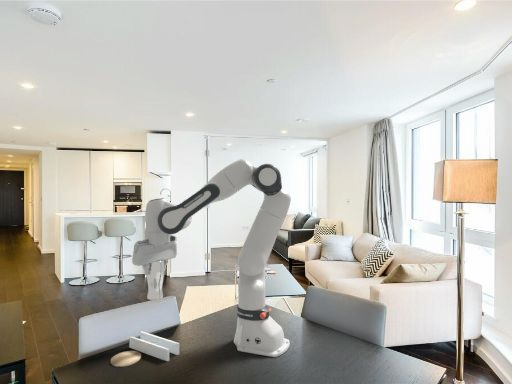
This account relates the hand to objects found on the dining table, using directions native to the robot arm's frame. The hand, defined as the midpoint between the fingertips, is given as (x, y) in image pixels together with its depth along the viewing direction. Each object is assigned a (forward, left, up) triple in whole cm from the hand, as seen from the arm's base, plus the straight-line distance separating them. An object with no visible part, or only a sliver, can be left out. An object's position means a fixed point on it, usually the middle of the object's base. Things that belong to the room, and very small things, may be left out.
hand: (155, 272), depth 121 cm
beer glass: (0, 0, -10) cm, 10 cm away
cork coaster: (-2, +14, -27) cm, 31 cm away
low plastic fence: (-6, +5, -27) cm, 28 cm away
